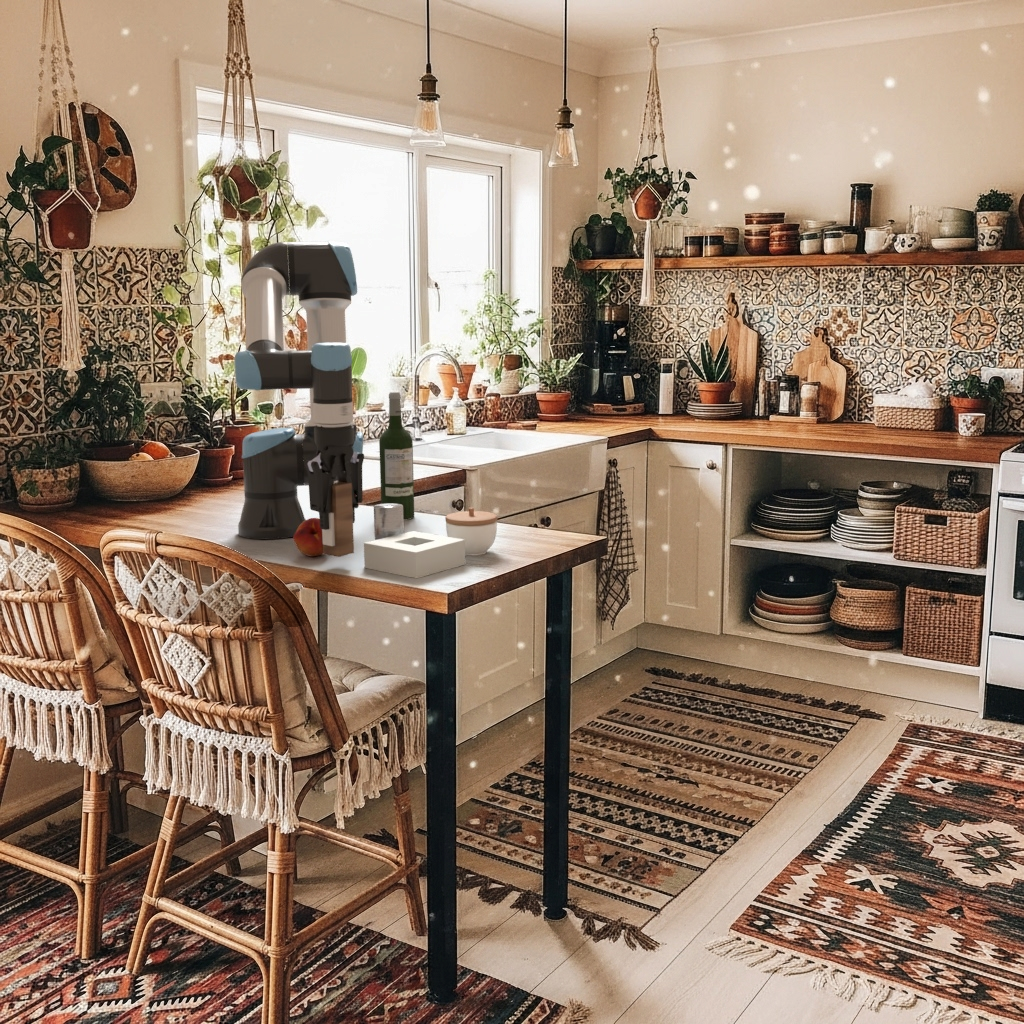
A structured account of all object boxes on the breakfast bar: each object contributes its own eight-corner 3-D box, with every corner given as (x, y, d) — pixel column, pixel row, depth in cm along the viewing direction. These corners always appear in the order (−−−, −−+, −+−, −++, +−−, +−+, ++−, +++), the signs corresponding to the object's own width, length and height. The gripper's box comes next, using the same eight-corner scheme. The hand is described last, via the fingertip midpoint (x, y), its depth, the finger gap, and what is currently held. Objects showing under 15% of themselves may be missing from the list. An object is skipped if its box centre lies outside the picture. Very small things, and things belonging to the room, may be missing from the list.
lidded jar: (508, 551, 236) (508, 507, 234) (472, 560, 228) (472, 515, 226) (471, 544, 243) (470, 501, 241) (435, 553, 235) (434, 508, 233)
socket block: (364, 567, 223) (363, 542, 222) (413, 554, 233) (413, 531, 233) (416, 578, 214) (415, 552, 213) (465, 564, 225) (464, 539, 224)
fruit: (288, 559, 230) (286, 521, 229) (301, 551, 238) (300, 513, 236) (325, 561, 229) (324, 522, 227) (338, 552, 237) (336, 514, 235)
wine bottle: (392, 521, 268) (388, 394, 262) (375, 516, 274) (371, 392, 268) (420, 517, 272) (417, 392, 267) (403, 512, 279) (400, 390, 273)
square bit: (323, 553, 223) (320, 483, 220) (339, 549, 226) (336, 480, 223) (338, 557, 220) (335, 486, 217) (353, 552, 223) (351, 483, 220)
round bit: (369, 554, 235) (367, 506, 233) (389, 549, 239) (388, 502, 237) (389, 558, 231) (388, 509, 229) (410, 552, 235) (409, 505, 234)
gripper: (312, 431, 209) (317, 554, 214) (379, 421, 222) (383, 537, 227) (285, 427, 213) (291, 548, 218) (353, 417, 226) (357, 531, 231)
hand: (338, 542), depth 223 cm, fingers closed on square bit, 4 cm apart
